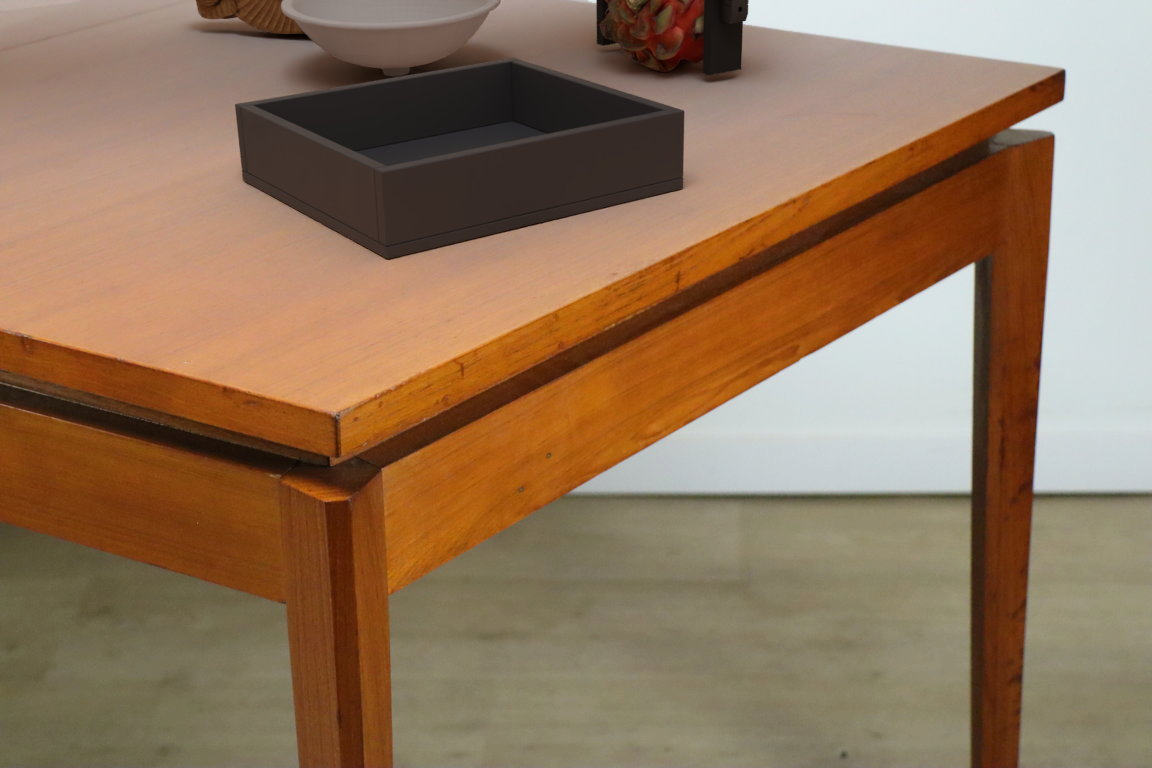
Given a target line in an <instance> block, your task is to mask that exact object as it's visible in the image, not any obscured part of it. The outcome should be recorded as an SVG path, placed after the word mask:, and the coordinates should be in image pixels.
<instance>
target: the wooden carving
mask: <svg viewBox="0 0 1152 768" xmlns="http://www.w3.org/2000/svg"><path fill="white" fill-rule="evenodd" d="M282 1H283V0H195V3H196V8H197V12H198V14H199V16H200V17H201V18H202V19H208V20H220V19H221V20H231V19H236V18H237V19H239V20H240V21H242V22H244V23H245V24H247V25H248V26H249V27H251V28H253V29H254V28H255V29H257V30H260V31H263V32H267V33H271V34H276V35H277V34H279V35H293V34H294V35H306V33H305V32H304V31H303V30H302V29H301V28H300V27H299V26H298V24H297V23H296V21H295V20H294V19H291V18H289V17H288V16H286V15H285V14H284V13H283V12H282V9H281V3H282Z"/></svg>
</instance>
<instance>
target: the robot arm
mask: <svg viewBox="0 0 1152 768" xmlns="http://www.w3.org/2000/svg"><path fill="white" fill-rule="evenodd" d="M595 1H596V3H595V4H596V5H595V7H596V9H595V10H596V14H595V15H596V45H599V46H610V45H616V44H618V43H617V42H614V41H613V40H610V39H606V38H605V37H604V36H603V34H602V32H601V28H600V26H599V25H600V23H601V22H602V21H603V20H604V19H605V18H606V15H605V12H606V11H607V9H608V3H607V2H606V1H605V0H595ZM749 2H750V1H749V0H704V33H703V61H702V74H704V75H706V76H707V75H708V76H714V75H718V74H724V73H729V72H736V71H741V70H742V62H743V61H742V60H743V59H742V58H743V34H744V33H743V29H744V22H746V21H747V18H748V15H749Z"/></svg>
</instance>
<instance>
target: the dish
mask: <svg viewBox="0 0 1152 768" xmlns="http://www.w3.org/2000/svg"><path fill="white" fill-rule="evenodd" d="M501 1H502V0H283V1H282V3H281V9H282V12H283V13H284V14H285V15H286V16H288V17H289V18H291V19H294V20H295V21H296V23H297V24H298V26H299V27H300V28H301V29H302V30H303V31H304V32H305V33H306V34H305V35H307V37H308V38H309V39H310V40H311V41H312V42H313V43H314V44H316V45H317V46H318V47H319V48H321V50H323V51H325V53H327V54H329V55H331V56H332V57H334V58H336V59H338V60H340V61H343V62H346V63H349V64H352V65H355V66H359V67H365V68H371V69H381V70H382V73H383V74H384V76H390V77H401V76H407V75H409V74H410V70H411V68H413V67H419V66H424V65H428V64H431V63H434V62H437V61H440V60H442V59H445V58H446V57H447V58H448V56H450V55H452V54H454V53H456V52H457V51H458V50H459V49H461V48H462V47H463V46H464V45H465V44H467V43H468V41H469V40H470V39H471V38H472V37H474V35H475V34H476V33H477V32H478V30H479V29H480V28H481V26H482V25H484V22H485V21H486V20H487V17H488V16H489V14H490V13H491V12H492V11H494V10H495V9H497V8H498V7H499V6H500V4H501Z"/></svg>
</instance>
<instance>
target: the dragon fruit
mask: <svg viewBox="0 0 1152 768" xmlns="http://www.w3.org/2000/svg"><path fill="white" fill-rule="evenodd" d="M605 1H606V2H607V3H608V9H607V11H606V12H605V15H606V18H605V19H604V20H603V21H602V22H601V23H600V25H599V26H600V28H601V32H602V34H603V36H604V37H605V38H606V39H610V40H613V41H614V42H617V43H616V44H618V45H619V46H620V50H622V51H623V52H624V53H626V54H627V55H629V56H630V57H631V59H632V60H633V61H634V62H638V63H640V64H641V65H643V66H644V67H645V68H649V69H652V70H655V71H657V72H660V73H668V72H671V71H672V70H673V69H675V68H676V67H677V66H678V65H679V63H680V61H683V60H687V61H690V62H691V63H693V64H699V63H701V62H703V33H704V0H605Z"/></svg>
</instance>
